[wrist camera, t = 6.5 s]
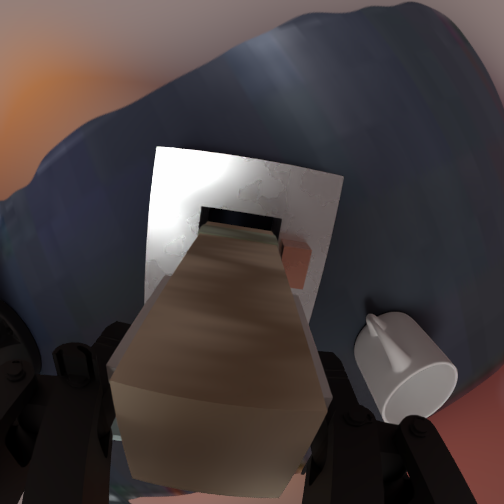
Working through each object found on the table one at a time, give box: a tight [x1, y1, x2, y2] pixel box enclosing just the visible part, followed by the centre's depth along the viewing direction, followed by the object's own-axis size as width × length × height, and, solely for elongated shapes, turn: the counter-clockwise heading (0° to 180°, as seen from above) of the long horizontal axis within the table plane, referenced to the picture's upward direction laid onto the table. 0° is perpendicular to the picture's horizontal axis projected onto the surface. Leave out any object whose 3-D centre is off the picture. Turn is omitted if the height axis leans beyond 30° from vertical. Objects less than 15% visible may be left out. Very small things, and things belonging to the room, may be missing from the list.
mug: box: [354, 312, 458, 425], centre depth 27 cm, size 9×12×11 cm
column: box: [109, 221, 328, 498], centre depth 14 cm, size 5×5×16 cm
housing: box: [144, 146, 344, 324], centre depth 24 cm, size 14×14×8 cm
